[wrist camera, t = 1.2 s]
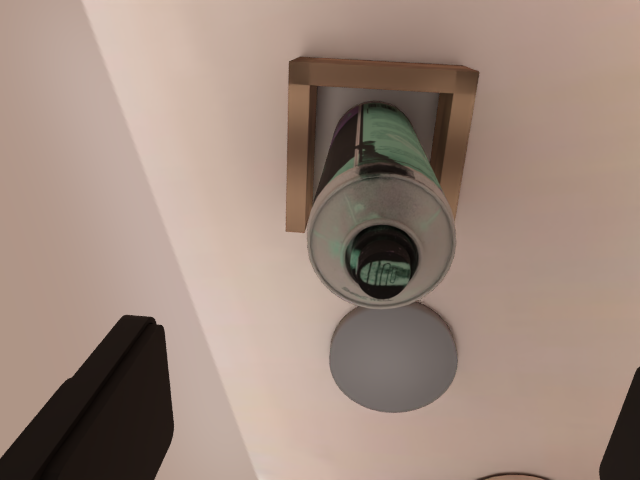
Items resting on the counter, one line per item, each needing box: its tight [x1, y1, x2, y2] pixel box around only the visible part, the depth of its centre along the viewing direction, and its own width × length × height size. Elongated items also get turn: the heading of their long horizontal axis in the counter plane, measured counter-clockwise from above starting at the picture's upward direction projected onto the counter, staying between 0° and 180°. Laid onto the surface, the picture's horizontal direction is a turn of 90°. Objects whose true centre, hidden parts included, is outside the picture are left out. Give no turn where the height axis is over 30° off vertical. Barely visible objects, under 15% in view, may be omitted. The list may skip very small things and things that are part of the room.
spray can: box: [307, 101, 456, 309], centre depth 24 cm, size 6×6×20 cm
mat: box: [330, 302, 458, 413], centre depth 39 cm, size 10×10×2 cm
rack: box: [286, 57, 479, 233], centre depth 31 cm, size 10×10×5 cm
